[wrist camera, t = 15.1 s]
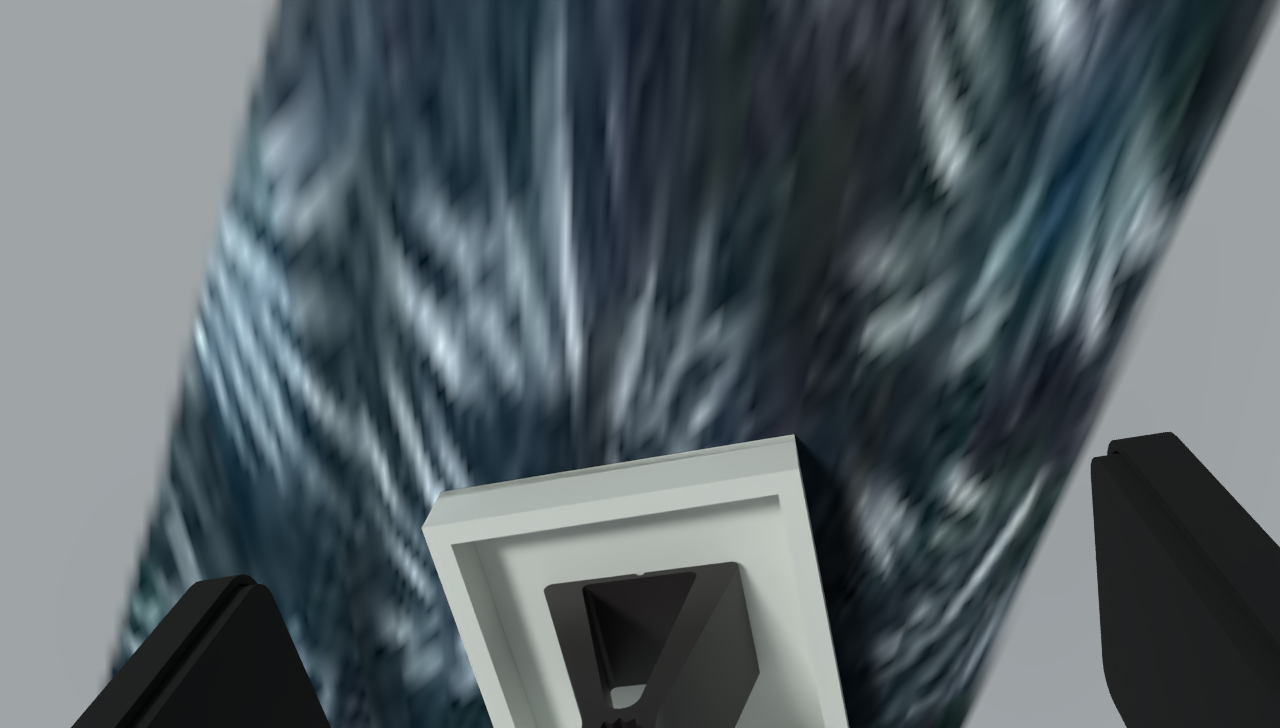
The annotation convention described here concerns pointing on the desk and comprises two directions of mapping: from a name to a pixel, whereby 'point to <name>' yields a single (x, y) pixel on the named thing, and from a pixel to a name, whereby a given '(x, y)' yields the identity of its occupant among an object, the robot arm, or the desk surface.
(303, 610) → the desk surface
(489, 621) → the tray
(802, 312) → the desk surface
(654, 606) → the phone stand
